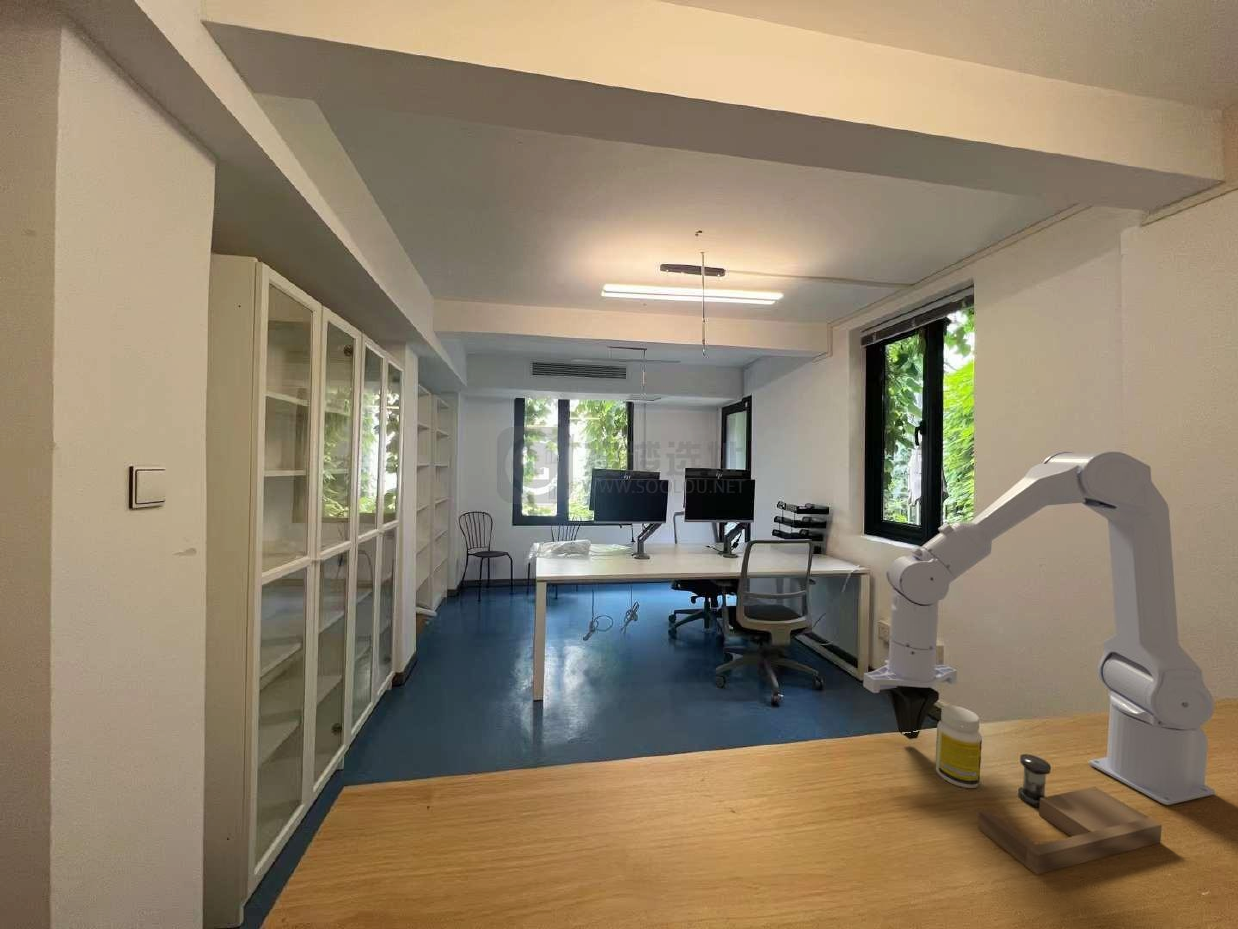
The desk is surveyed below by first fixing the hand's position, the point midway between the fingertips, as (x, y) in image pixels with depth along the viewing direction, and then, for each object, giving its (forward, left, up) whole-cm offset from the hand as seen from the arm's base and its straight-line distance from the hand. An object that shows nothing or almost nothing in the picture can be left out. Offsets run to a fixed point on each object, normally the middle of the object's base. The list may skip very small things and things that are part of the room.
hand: (907, 734), depth 69 cm
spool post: (-6, +12, -1) cm, 14 cm away
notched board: (-4, +17, -1) cm, 18 cm away
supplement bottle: (-1, +7, -2) cm, 7 cm away
